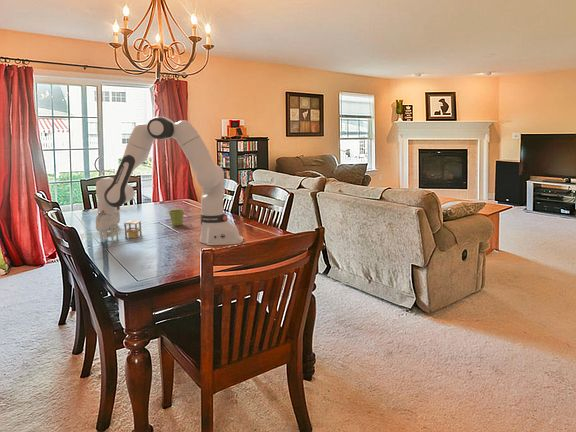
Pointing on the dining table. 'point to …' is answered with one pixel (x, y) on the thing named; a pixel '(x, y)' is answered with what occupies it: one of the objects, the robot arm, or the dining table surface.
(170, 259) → the dining table surface
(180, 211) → the plant pot
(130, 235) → the letter block
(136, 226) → the tan square stool
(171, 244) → the dining table surface
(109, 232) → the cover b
